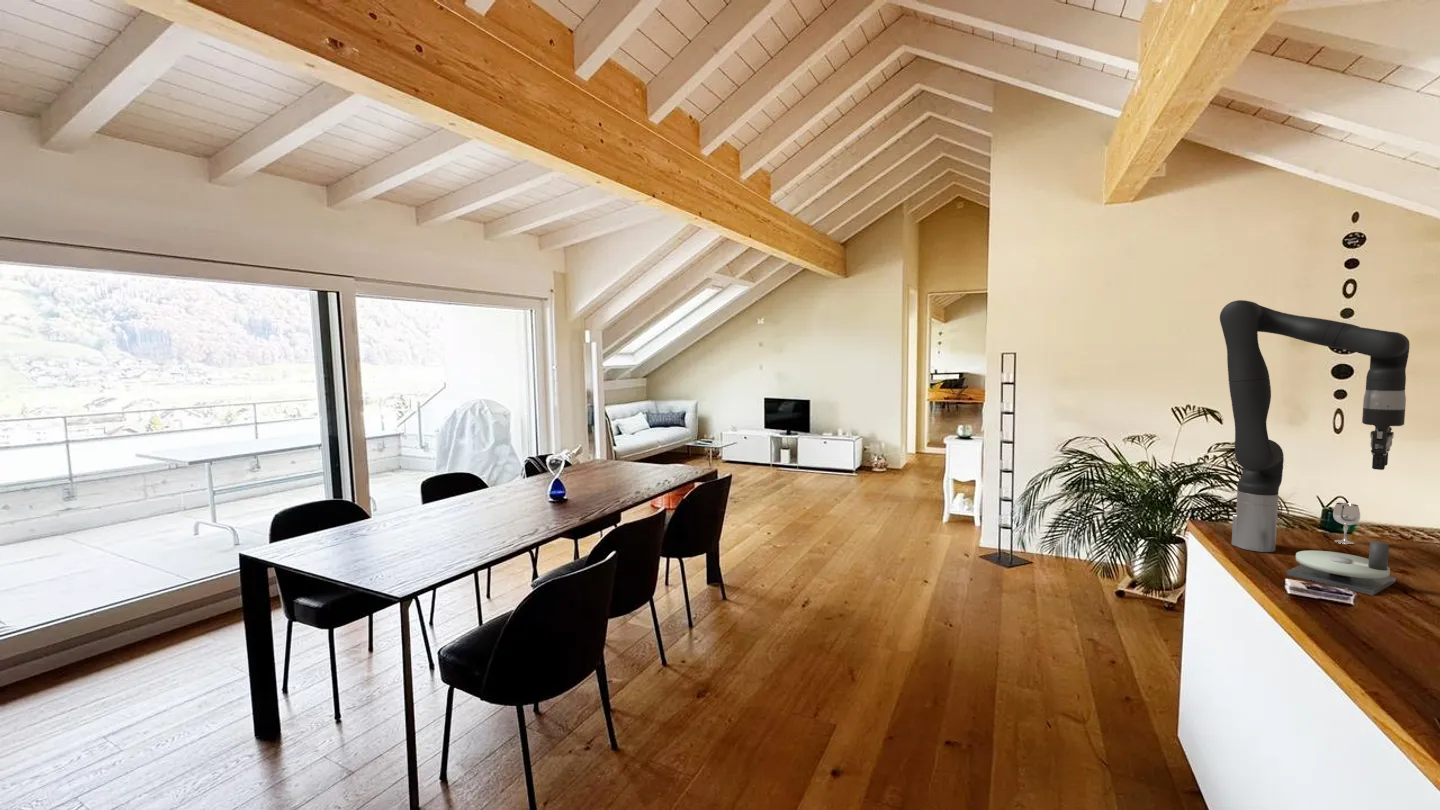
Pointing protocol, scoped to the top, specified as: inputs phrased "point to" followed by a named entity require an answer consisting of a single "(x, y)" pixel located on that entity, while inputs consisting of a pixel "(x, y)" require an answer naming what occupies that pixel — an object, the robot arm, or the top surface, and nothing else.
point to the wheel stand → (1342, 580)
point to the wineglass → (1346, 517)
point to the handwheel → (1349, 562)
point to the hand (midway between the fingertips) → (1379, 467)
